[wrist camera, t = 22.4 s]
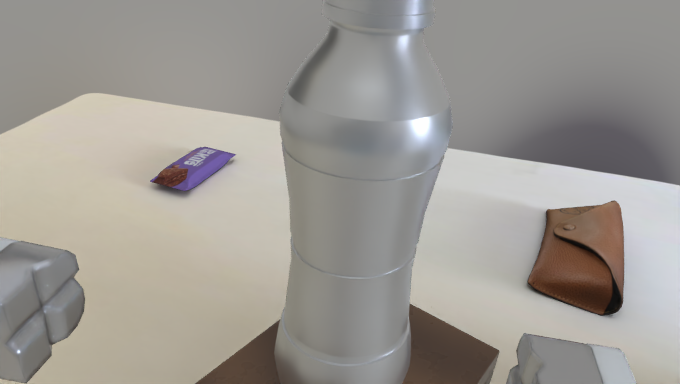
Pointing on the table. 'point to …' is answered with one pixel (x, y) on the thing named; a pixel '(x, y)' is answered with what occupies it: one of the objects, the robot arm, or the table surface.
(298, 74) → the plastic bottle
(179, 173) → the snack package
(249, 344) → the dark wooden box
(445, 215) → the table surface
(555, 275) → the sunglasses case
